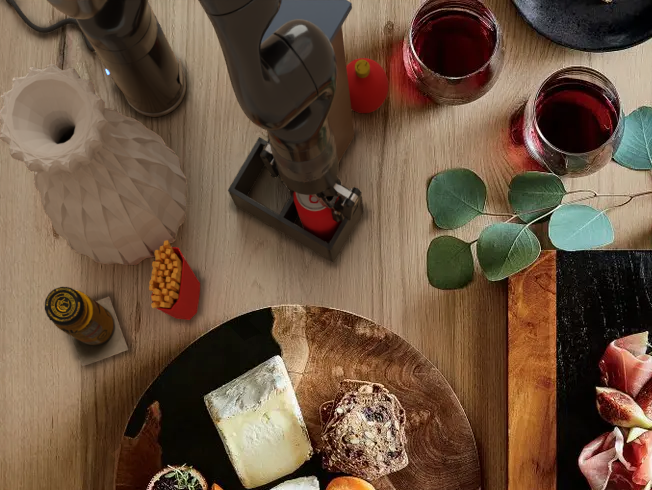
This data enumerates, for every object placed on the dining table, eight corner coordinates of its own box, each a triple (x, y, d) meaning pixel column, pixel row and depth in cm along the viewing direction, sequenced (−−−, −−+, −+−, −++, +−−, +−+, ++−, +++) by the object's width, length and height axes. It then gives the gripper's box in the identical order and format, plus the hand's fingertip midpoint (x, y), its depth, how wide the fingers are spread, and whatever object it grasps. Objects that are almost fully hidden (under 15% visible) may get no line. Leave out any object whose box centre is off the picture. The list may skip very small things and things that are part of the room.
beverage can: (346, 204, 122) (340, 170, 110) (342, 245, 122) (336, 216, 110) (304, 200, 122) (294, 165, 110) (300, 241, 122) (289, 211, 110)
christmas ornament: (355, 131, 122) (351, 96, 112) (332, 89, 122) (326, 51, 112) (397, 107, 122) (397, 71, 112) (374, 66, 122) (371, 25, 112)
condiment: (109, 296, 122) (78, 272, 110) (128, 350, 122) (99, 331, 110) (63, 313, 122) (27, 291, 110) (83, 366, 122) (48, 350, 110)
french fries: (174, 266, 122) (148, 236, 109) (203, 269, 122) (180, 240, 109) (167, 327, 122) (140, 305, 109) (196, 330, 122) (172, 308, 109)
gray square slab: (222, 36, 92) (220, 31, 91) (267, -41, 92) (266, -47, 91) (307, 85, 92) (306, 80, 91) (352, 8, 92) (351, 2, 91)
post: (275, 151, 122) (234, 33, 92) (302, 105, 122) (271, -29, 92) (327, 182, 122) (303, 73, 92) (354, 135, 122) (340, 11, 92)
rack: (236, 206, 122) (227, 190, 116) (266, 155, 122) (259, 136, 116) (333, 263, 122) (330, 250, 116) (363, 212, 122) (362, 196, 116)
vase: (53, 263, 122) (-59, 181, 92) (85, 133, 122) (-17, 9, 92) (183, 295, 122) (113, 223, 92) (215, 164, 122) (156, 49, 92)
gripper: (372, 152, 97) (376, 205, 114) (268, 91, 98) (287, 153, 114) (340, 207, 97) (349, 252, 114) (236, 146, 98) (260, 200, 114)
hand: (318, 202), depth 114 cm, fingers closed on beverage can, 6 cm apart
